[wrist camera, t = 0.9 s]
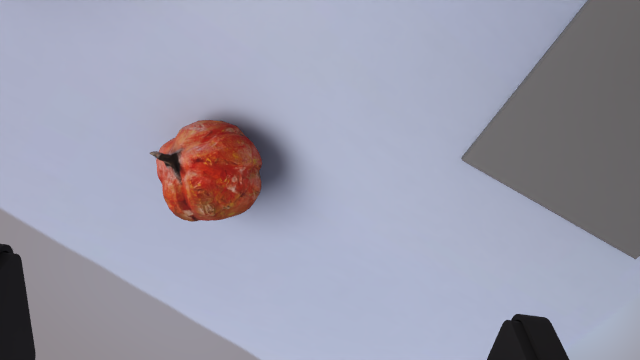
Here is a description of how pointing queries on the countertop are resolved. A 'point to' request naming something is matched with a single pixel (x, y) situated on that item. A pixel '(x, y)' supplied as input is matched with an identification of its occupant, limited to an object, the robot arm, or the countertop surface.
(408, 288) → the countertop surface
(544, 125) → the mat
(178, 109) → the countertop surface
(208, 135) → the pomegranate
